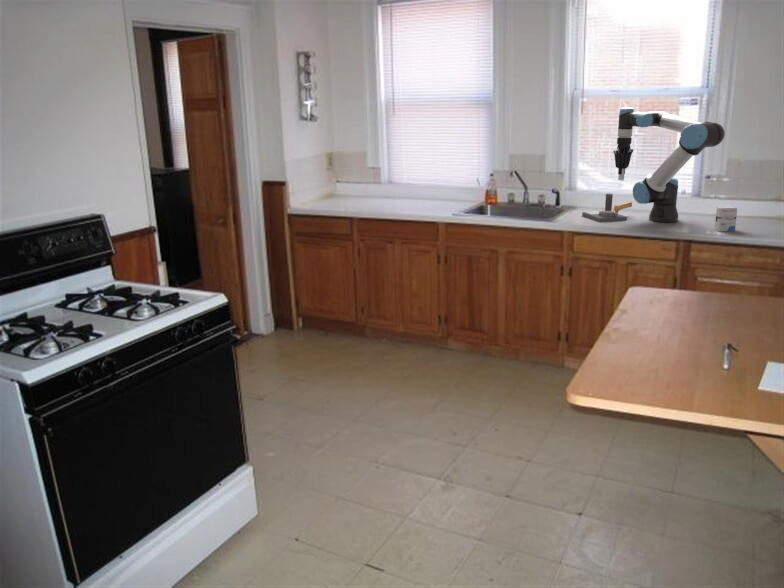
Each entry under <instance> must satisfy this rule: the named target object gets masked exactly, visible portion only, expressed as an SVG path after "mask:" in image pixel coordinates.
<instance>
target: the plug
mask: <svg viewBox="0 0 784 588" xmlns="http://www.w3.org/2000/svg"><path fill="white" fill-rule="evenodd" d="M613 196H614V194H613V193H606V194H605V203H604V204H605V205H604V209H602V211H603V213H606V214H608V213H614V212H615V211H614V209H613V198H614V197H613Z"/></svg>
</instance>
